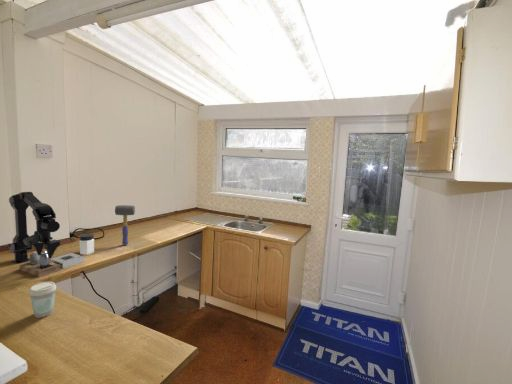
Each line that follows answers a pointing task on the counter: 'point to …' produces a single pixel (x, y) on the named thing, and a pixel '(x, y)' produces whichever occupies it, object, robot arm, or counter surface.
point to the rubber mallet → (125, 219)
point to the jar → (86, 244)
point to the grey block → (44, 260)
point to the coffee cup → (43, 298)
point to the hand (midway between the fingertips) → (44, 256)
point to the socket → (67, 260)
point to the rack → (38, 266)
